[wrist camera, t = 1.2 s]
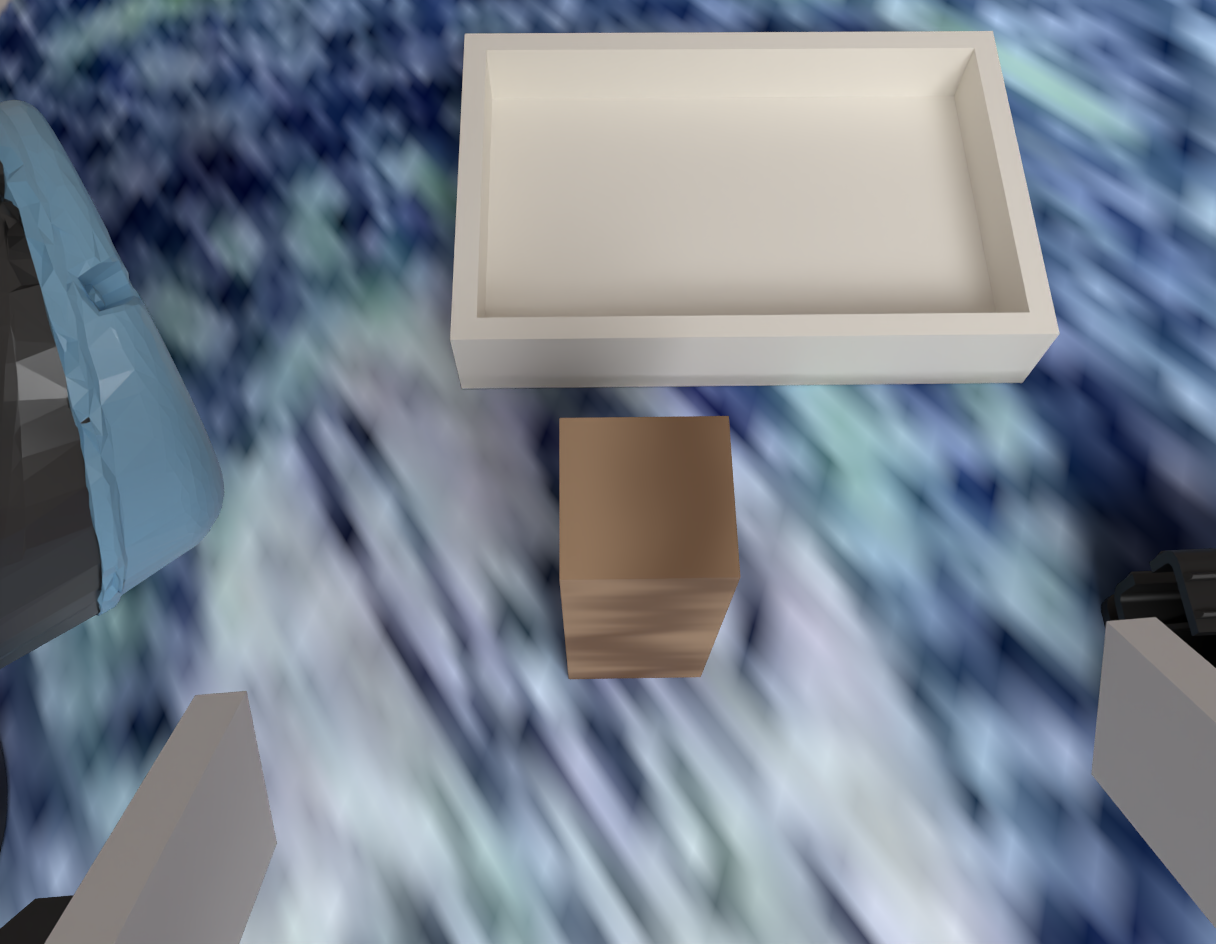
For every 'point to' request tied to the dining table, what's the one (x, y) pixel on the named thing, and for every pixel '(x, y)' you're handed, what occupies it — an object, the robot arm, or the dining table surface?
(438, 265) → the dining table surface
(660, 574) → the walnut block
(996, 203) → the sorting tray
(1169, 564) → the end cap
